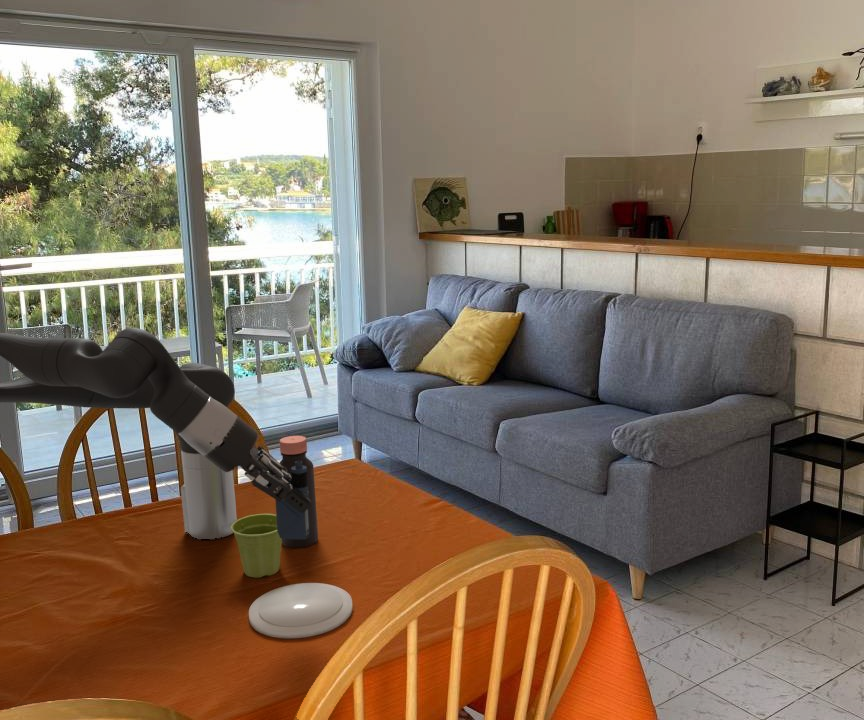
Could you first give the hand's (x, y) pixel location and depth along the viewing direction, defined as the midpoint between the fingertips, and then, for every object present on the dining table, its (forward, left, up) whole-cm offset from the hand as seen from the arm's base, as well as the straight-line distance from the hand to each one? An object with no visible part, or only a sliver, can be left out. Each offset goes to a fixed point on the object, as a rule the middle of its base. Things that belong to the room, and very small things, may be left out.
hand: (305, 502), depth 131 cm
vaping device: (-2, -1, -5) cm, 6 cm away
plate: (-1, -1, -18) cm, 18 cm away
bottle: (-17, +22, -18) cm, 33 cm away
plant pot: (-16, +9, -18) cm, 26 cm away
